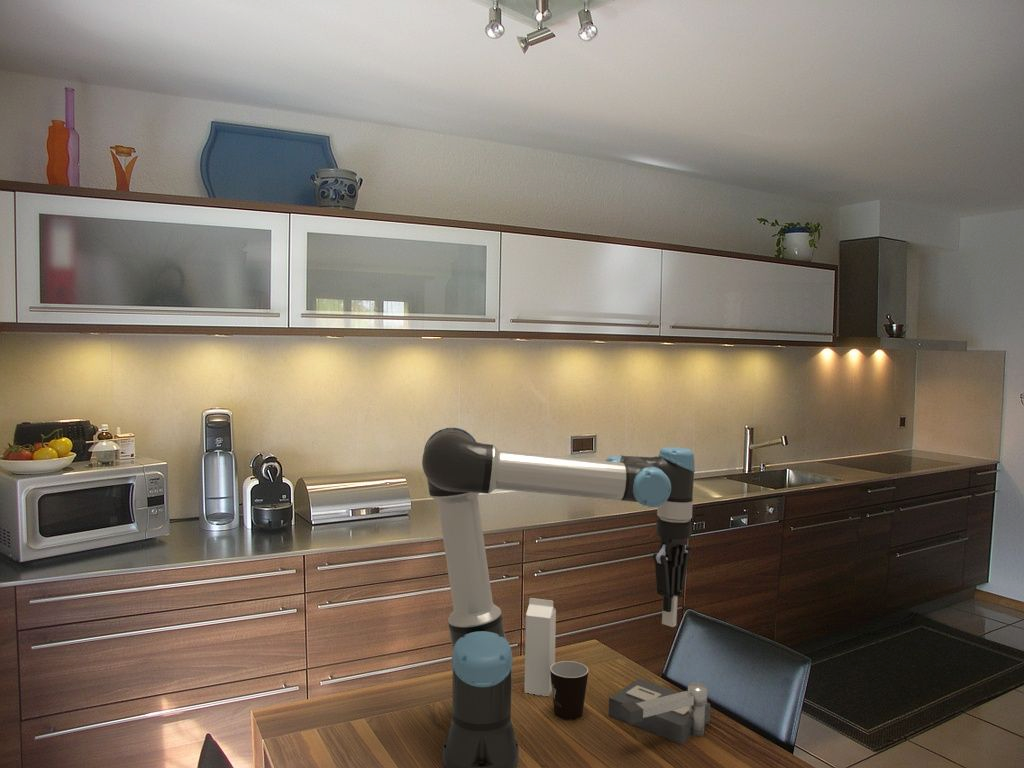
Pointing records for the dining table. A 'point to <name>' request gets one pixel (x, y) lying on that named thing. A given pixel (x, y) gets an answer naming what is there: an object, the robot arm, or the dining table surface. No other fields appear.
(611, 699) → the grey slotted block
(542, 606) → the milk
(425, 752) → the dining table surface
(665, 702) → the lever
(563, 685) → the coffee mug
